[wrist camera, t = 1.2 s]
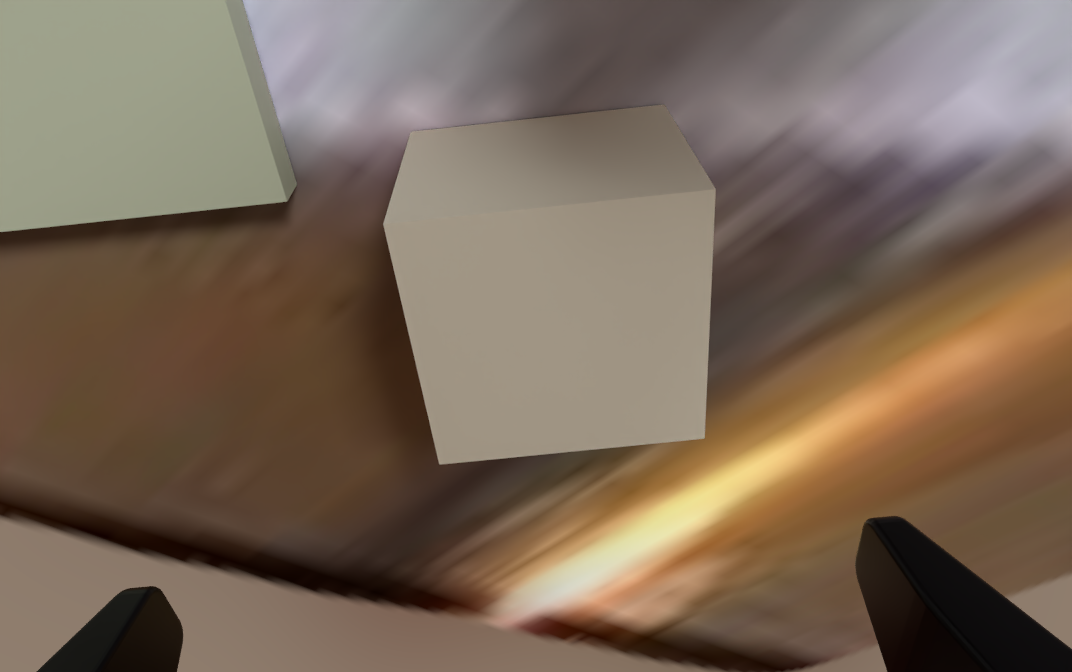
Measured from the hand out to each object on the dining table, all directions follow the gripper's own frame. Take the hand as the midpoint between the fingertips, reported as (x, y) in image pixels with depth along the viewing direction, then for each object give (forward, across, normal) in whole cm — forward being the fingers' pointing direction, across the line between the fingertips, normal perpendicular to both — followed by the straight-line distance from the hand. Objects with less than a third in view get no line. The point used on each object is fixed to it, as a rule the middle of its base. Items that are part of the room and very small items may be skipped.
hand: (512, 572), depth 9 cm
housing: (+11, -1, +1) cm, 11 cm away
